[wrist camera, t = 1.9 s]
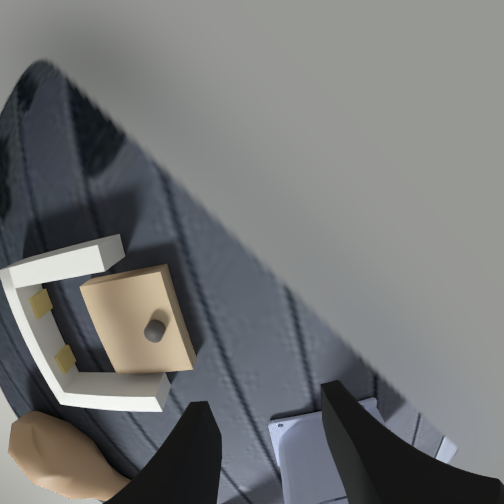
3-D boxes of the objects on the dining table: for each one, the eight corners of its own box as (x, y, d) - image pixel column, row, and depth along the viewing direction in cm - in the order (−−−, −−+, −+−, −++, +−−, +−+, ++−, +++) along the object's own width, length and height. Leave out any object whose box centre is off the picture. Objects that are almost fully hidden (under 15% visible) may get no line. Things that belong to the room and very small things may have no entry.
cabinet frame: (119, 233, 16) (97, 244, 14) (170, 385, 20) (162, 411, 17) (21, 259, 17) (-2, 270, 14) (74, 384, 20) (60, 404, 17)
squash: (42, 382, 20) (14, 443, 12) (174, 470, 27) (181, 525, 19) (10, 413, 20) (-11, 462, 12) (126, 488, 27) (127, 536, 18)
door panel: (168, 261, 18) (156, 276, 15) (197, 352, 19) (191, 376, 17) (93, 276, 18) (73, 291, 15) (125, 359, 19) (113, 380, 17)
